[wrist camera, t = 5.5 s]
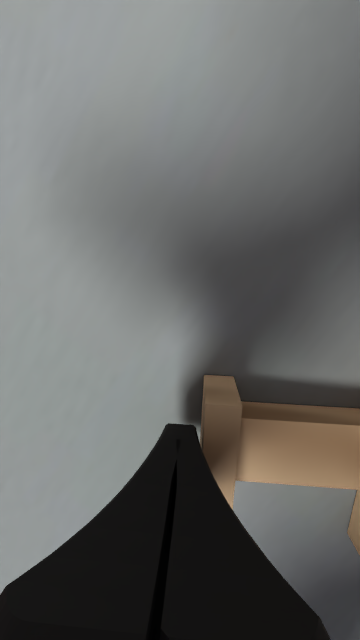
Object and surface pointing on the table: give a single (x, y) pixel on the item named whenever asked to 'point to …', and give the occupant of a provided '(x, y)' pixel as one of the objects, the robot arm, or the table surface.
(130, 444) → the table surface
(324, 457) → the oak tray
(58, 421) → the table surface
